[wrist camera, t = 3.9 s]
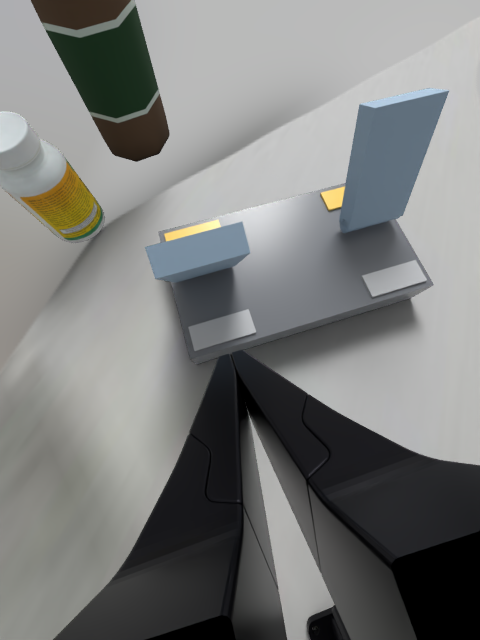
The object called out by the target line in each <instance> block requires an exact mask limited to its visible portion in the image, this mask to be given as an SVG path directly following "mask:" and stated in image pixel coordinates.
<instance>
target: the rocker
mask: <svg viewBox="0 0 480 640" xmlns="http://www.w3.org/2000/svg"><path fill="white" fill-rule="evenodd" d="M145 249H146V252H147V255H148V258H149V261H150V264H151V267H152V270H153V273H154V276H155V279H159V280H164V281H170V282H175V283H177V282H180V281H184V280H187V279H191V278H195V277H198V276H202V275H205V274H209V273H213V272H216V271H220V270H223V269H227V268H231V267H234V266H236V265H237V264H238V263H239V262H240V261H242V260H243V259H244V258H245V257H246V256H247V255H249V254H250V253H251V252H250V249H249V245H248V241H247V237H246V234H245V230H244V226H243V222H238V223H234V224H231V225H227V226H223V227H219V228H215V229H212V230H208V231H204V232H200V233H197V234H193V235H189V236H185V237H181V238H178V239H174V240H170V241H166V242H162V243H159V244H155V245H151V246H147V247H145Z"/></svg>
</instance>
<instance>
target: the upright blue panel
mask: <svg viewBox="0 0 480 640" xmlns="http://www.w3.org/2000/svg"><path fill="white" fill-rule="evenodd" d="M448 92H449V90H441V89H433V88H427V89H423V90H419V91H414V92H410V93H406V94H401V95H397V96H393V97H389V98H384V99H380V100H376V101H371V102H367V103H363V104H360V105H359V111H358V116H357V122H356V128H355V133H354V139H353V145H352V150H351V156H350V162H349V167H348V173H347V179H346V184H345V190H344V196H343V201H342V207H341V213H340V218H339V222H340V229H341V231H342V232H343V233H347V232H351V231H354V230H358V229H362V228H365V227H369V226H372V225H376V224H380V223H383V222H387V221H390V220H394V219H398V218H399V217H400V216H403V213H404V211H405V208H406V205H407V203H408V200H409V197H410V195H411V192H412V189H413V186H414V184H415V181H416V178H417V176H418V173H419V170H420V168H421V165H422V162H423V160H424V157H425V154H426V151H427V149H428V146H429V143H430V141H431V138H432V135H433V133H434V130H435V127H436V125H437V122H438V119H439V116H440V114H441V111H442V108H443V106H444V103H445V100H446V98H447V95H448Z"/></svg>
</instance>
